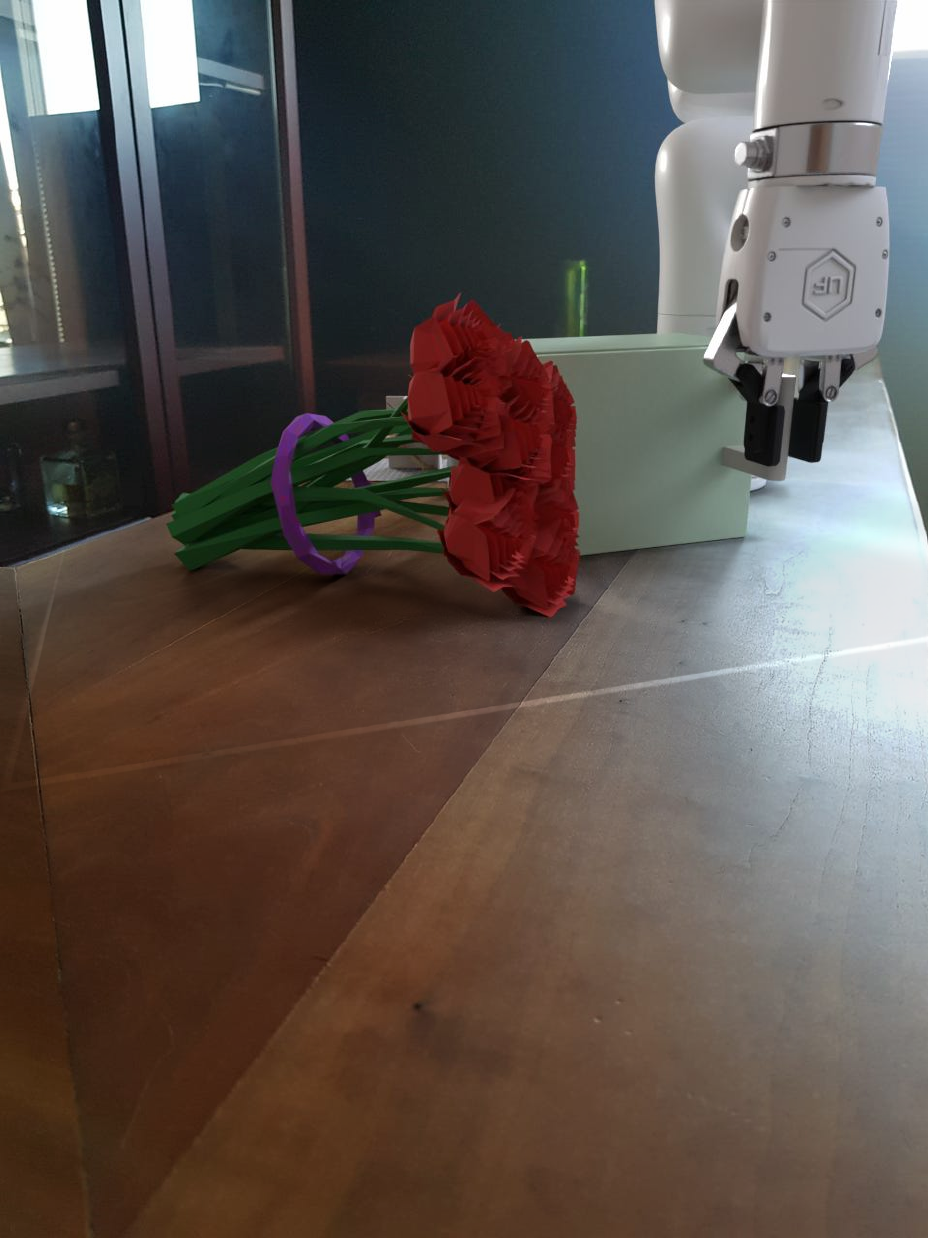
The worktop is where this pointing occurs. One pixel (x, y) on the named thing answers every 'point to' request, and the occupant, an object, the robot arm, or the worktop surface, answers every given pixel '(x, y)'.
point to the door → (660, 448)
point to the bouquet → (449, 425)
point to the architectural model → (403, 458)
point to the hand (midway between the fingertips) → (781, 458)
